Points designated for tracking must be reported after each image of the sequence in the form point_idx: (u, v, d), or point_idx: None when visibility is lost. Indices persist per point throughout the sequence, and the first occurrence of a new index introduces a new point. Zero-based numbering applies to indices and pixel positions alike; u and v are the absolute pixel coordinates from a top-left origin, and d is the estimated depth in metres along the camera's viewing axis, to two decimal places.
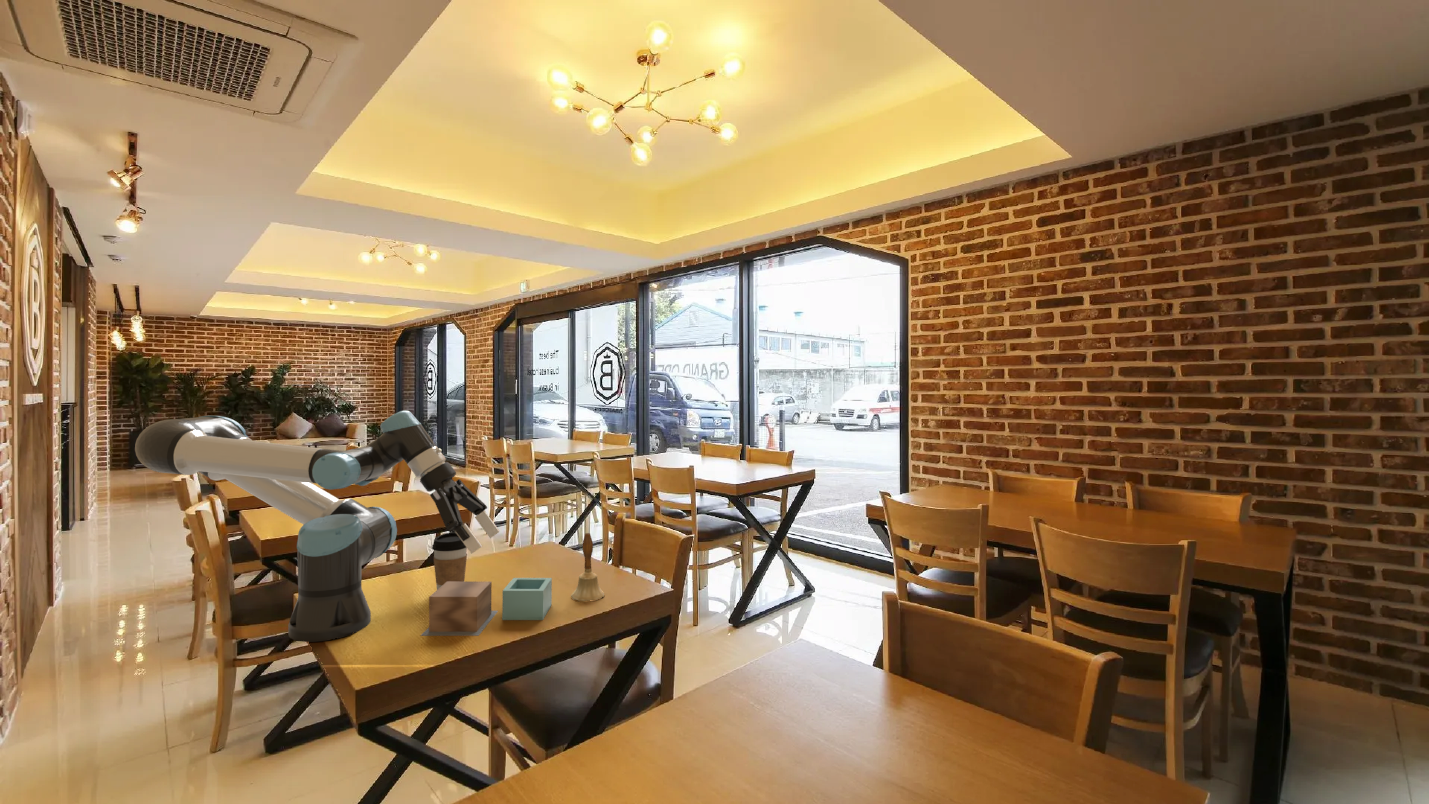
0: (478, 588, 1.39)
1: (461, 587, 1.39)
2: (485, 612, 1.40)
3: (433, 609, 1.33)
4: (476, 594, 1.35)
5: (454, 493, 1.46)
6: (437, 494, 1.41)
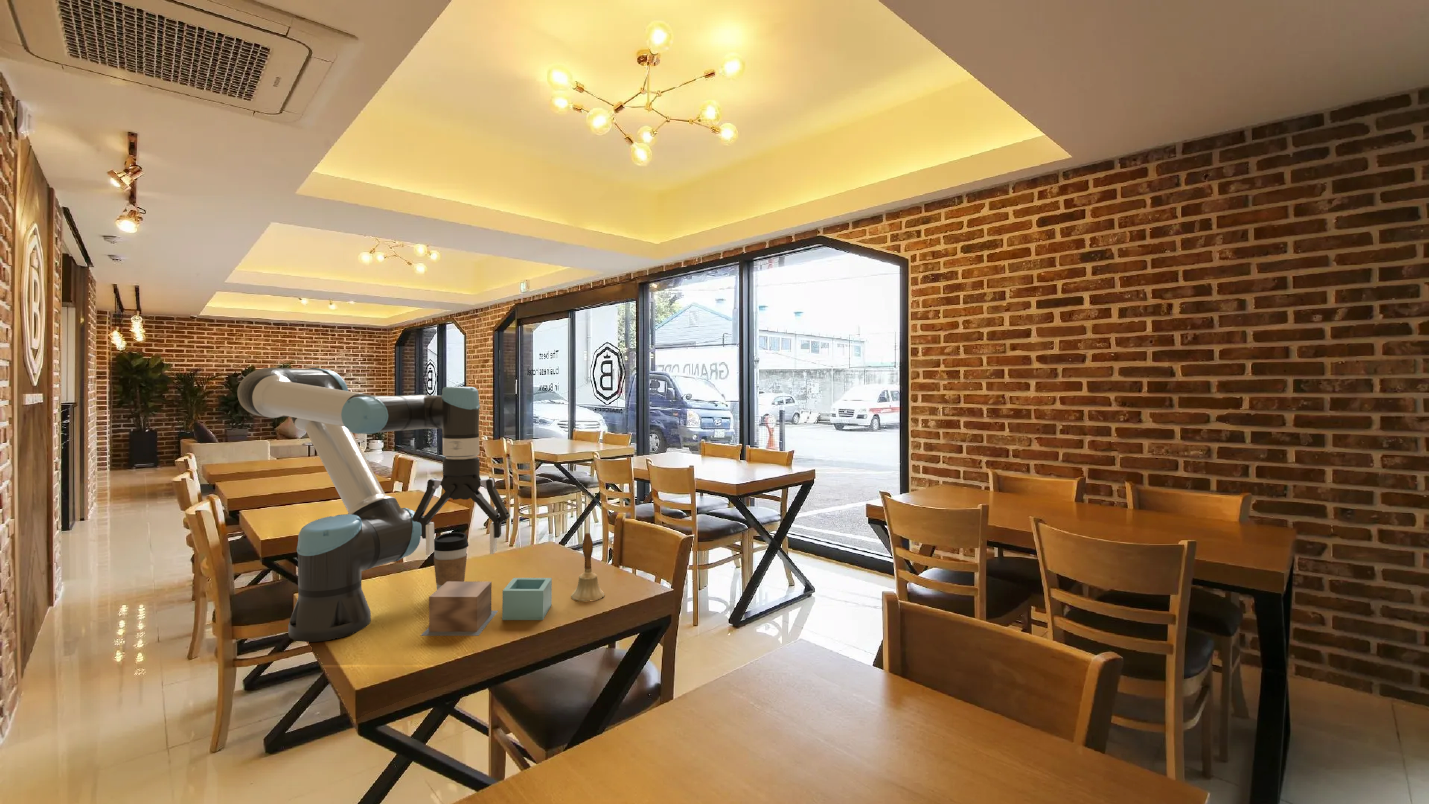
0: (478, 588, 1.39)
1: (461, 587, 1.39)
2: (485, 612, 1.40)
3: (433, 609, 1.33)
4: (476, 594, 1.35)
5: (447, 492, 1.36)
6: None
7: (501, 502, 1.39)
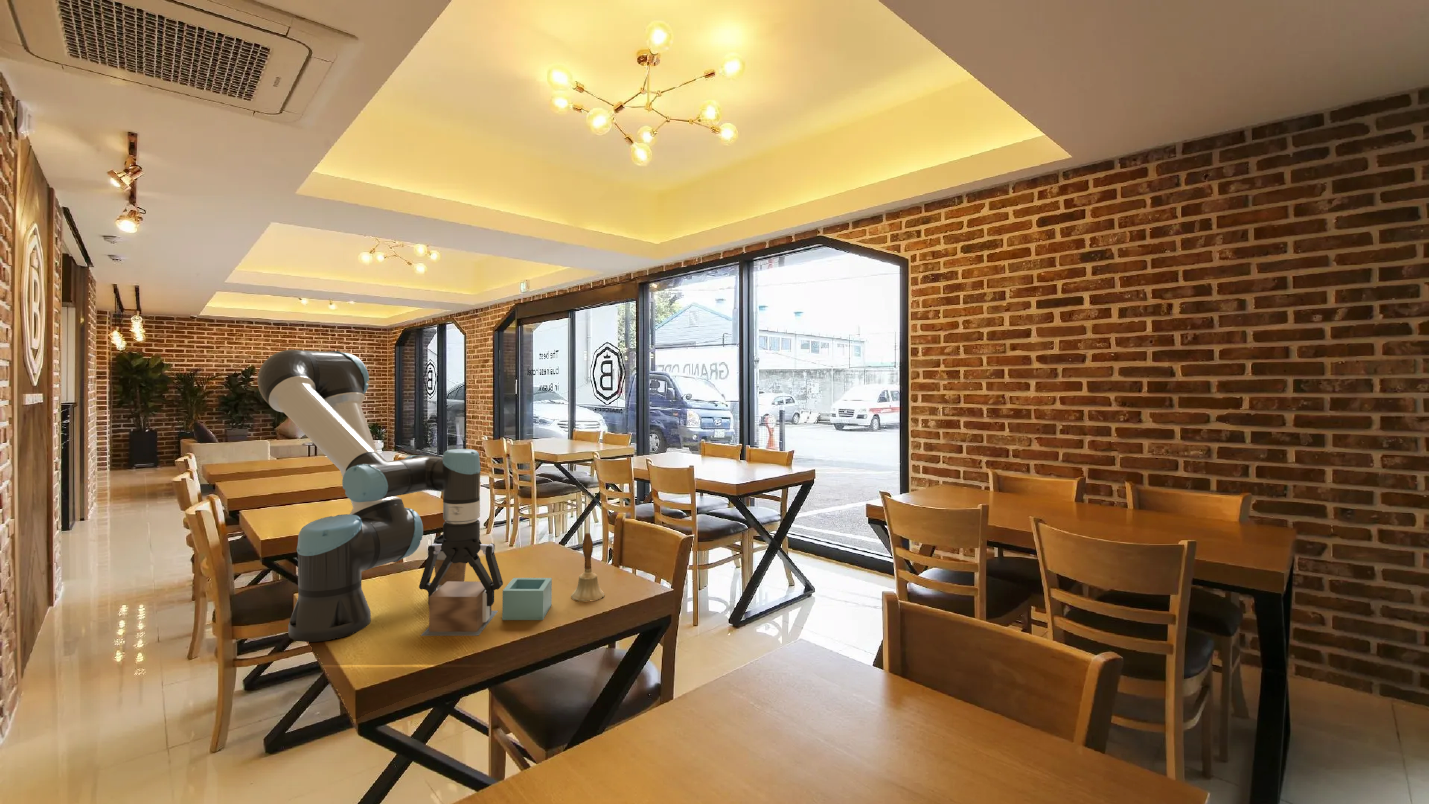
0: (478, 588, 1.39)
1: (461, 587, 1.39)
2: None
3: (433, 609, 1.33)
4: (476, 594, 1.35)
5: (448, 557, 1.36)
6: None
7: (497, 570, 1.38)
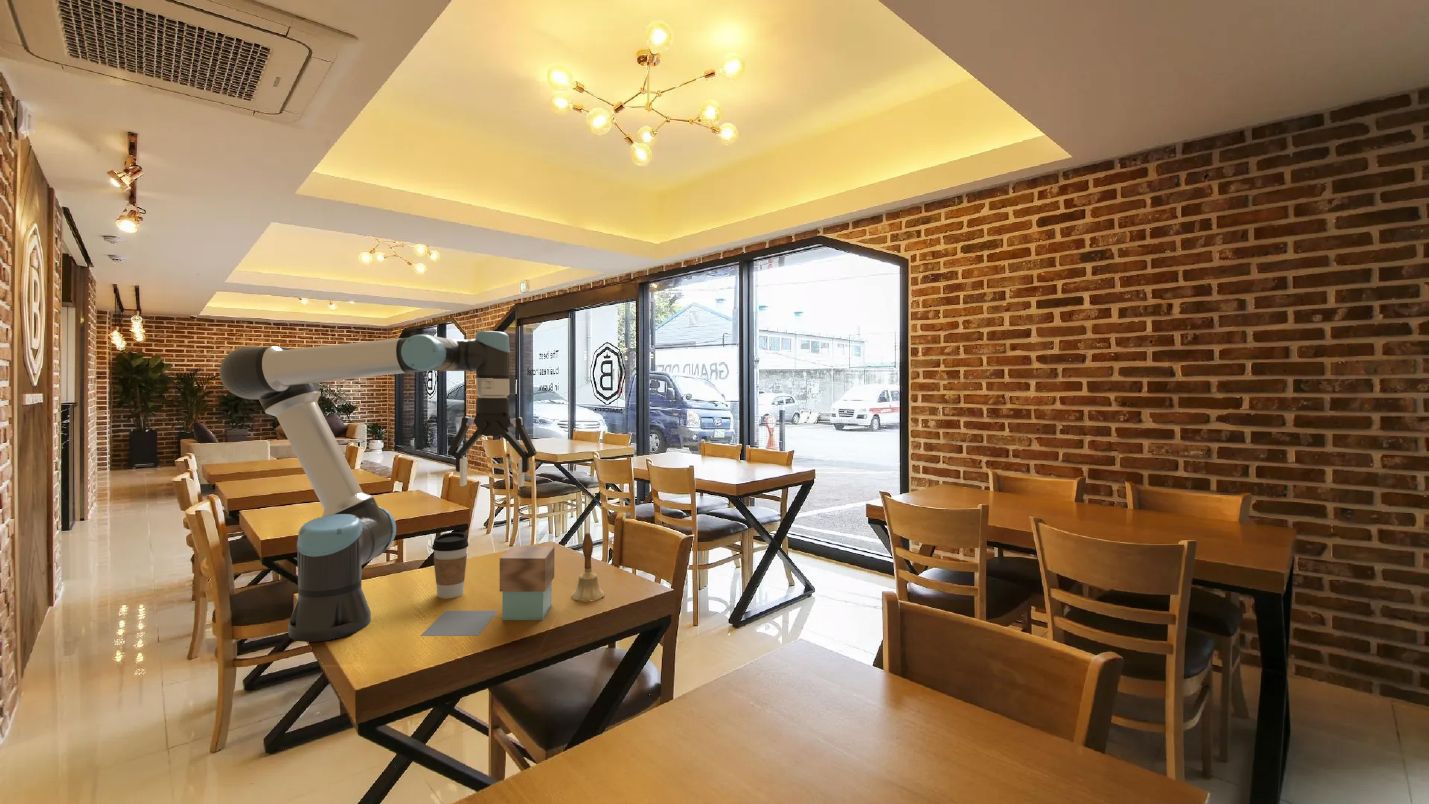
0: (543, 551, 1.45)
1: (527, 550, 1.45)
2: (550, 574, 1.46)
3: (504, 570, 1.39)
4: (543, 556, 1.41)
5: (480, 429, 1.47)
6: None
7: (529, 439, 1.49)
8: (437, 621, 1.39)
